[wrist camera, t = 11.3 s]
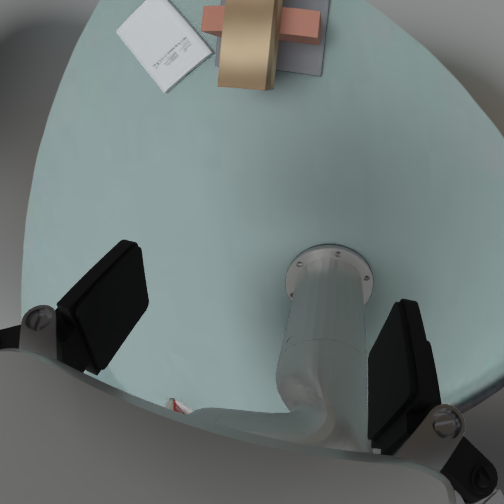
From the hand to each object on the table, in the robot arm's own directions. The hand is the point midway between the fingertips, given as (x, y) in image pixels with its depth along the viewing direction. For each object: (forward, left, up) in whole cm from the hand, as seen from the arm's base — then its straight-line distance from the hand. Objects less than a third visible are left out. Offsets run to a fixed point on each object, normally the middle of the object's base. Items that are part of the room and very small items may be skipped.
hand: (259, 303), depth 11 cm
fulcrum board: (+13, +6, -28) cm, 32 cm away
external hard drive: (+12, +20, -29) cm, 37 cm away
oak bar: (+13, +6, -21) cm, 26 cm away
